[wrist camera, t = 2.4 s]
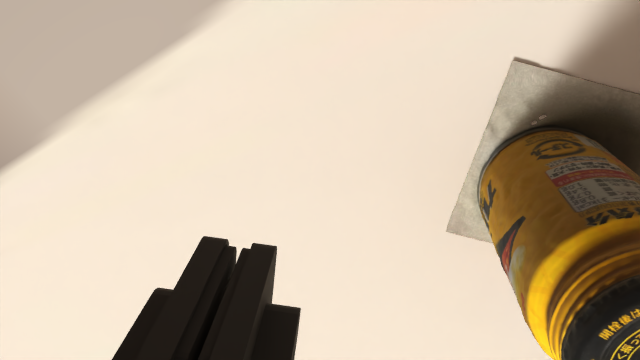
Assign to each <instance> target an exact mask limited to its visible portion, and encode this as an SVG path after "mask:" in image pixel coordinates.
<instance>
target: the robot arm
mask: <svg viewBox="0 0 640 360" xmlns="http://www.w3.org/2000/svg"><path fill="white" fill-rule="evenodd" d="M276 255H277V246H271V245H264V244H257V243H253V244H252V246H251V249H247V248H243V249H242V251H241V253H240V256H239V258H238V261H237V263H236V247H233V246H229V242H228V239H221V238H214V237H207V236H203V238H202V239H201V241H200V243H199V245H198V246H197V248H196V250H195V252H194V254H193V255H192V257H191V259H190V261H189V263H188V264H187V266H186V268H185V270H184V272H183V273H182V275H181V277H180V279H179V281H178V282H177V284H176V286H175V288H174V290H171V289H164V288H157V289H155V290H154V292H153V293H152V295H151V296H150V298H149V300H148V301H147V303H146V304H145V306H144V308H143V309H142V311H141V313H140V314H139V316H138V318H137V319H136V321H135V323H134V324H133V326H132V327H131V329H130V331H129V332H128V334H127V336H126V337H125V339H124V341H123V342H122V344H121V345H120V347H119V349H118V350H117V352H116V354H115V355H114V357H113V359H112V360H294V356H295V349H296V342H297V334H298V327H299V319H300V310H301V308H297V307H290V306H283V305H276V304H272V295H273V285H274V275H275V265H276Z"/></svg>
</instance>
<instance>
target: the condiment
mask: <svg viewBox="0 0 640 360" xmlns="http://www.w3.org/2000/svg"><path fill="white" fill-rule="evenodd" d="M542 115H546V117H545V118H544V119H542V120H539V117H540V116H542ZM533 121H537V123H536V124H535V125H531V122H533ZM446 232H450V233H454V234H457V235H461V236H465V237H469V238H474V239H477V240H481V241H486V242H489V243H493V244H494V246H495V249H496V252H497V254H498V256H499V257H500V261H501V265H502V267H503V269H504V271H505V273H506V274H507V276H508V279H509V281H510V283H511V286H512V288H513V290H514V293H515V295H516V297H517V300H518V303H519V305H520V307H521V310H522V314H523V316H524V319H525V322H526V323H527V325H528V326H529V328H530V330H531V331H532V334H533V336H534V338H535V339H536V340H537V342H538V343H539V345H540V346H541V348H542V349H543V351H544V352H545V353H546V354H547V355H549V356H550V357H551V358H552V359H553V360H640V95H639V94H636V93H632V92H628V91H625V90H622V89H618V88H614V87H610V86H607V85H603V84H599V83H595V82H592V81H588V80H585V79H580V78H578V77H573V76H569V75H565V74H562V73H558V72H555V71H551V70H547V69H544V68H539V67H536V66H532V65H528V64H525V63H521V62H517V61H514V60H513V61H512V64H511V66H510V69H509V71H508V74H507V77H506V80H505V82H504V85H503V87H502V89H501V91H500V94H499V97H498V100H497V103H496V105H495V108H494V110H493V113H492V115H491V118H490V120H489V122H488V125H487V128H486V130H485V132H484V135H483V137H482V140H481V142H480V145H479V147H478V149H477V152H476V154H475V157H474V159H473V162H472V164H471V167H470V169H469V172H468V175H467V177H466V180H465V182H464V185H463V187H462V190H461V192H460V195H459V197H458V200H457V203H456V206H455V208H454V210H453V213H452V215H451V218H450V221H449V223H448V226H447V230H446Z"/></svg>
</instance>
